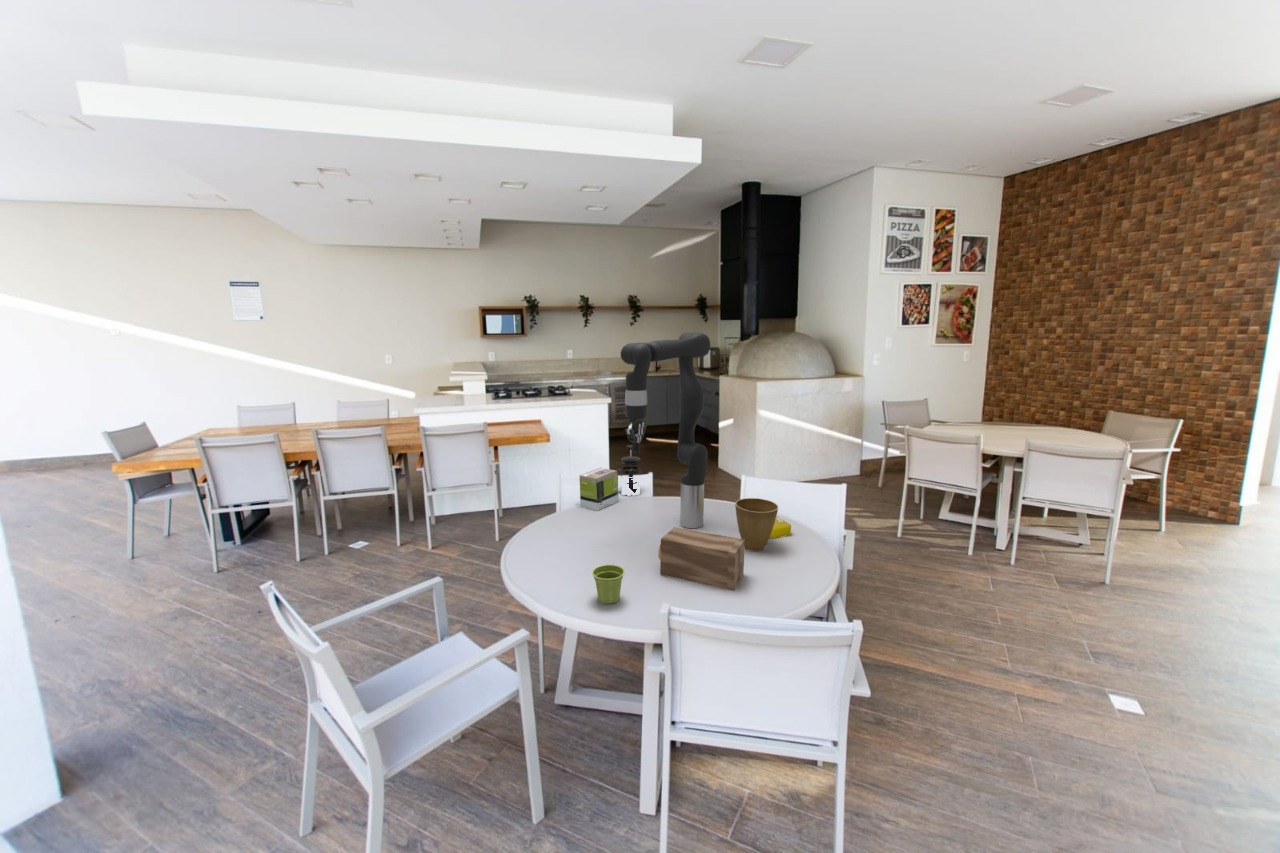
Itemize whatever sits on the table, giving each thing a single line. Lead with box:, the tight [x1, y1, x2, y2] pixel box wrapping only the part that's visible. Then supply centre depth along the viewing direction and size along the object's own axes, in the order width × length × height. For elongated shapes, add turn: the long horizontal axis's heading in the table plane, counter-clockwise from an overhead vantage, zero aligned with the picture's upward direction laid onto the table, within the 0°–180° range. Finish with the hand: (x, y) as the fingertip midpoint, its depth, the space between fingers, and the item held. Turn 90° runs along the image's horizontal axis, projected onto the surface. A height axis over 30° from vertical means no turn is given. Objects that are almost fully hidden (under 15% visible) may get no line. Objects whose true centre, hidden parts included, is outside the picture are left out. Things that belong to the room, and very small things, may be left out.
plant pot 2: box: [734, 497, 779, 552], centre depth 193 cm, size 15×15×16 cm
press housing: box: [659, 527, 745, 591], centre depth 171 cm, size 11×24×12 cm, turn 65°
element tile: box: [769, 515, 792, 539], centre depth 209 cm, size 15×15×5 cm
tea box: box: [579, 467, 619, 512], centre depth 238 cm, size 15×10×15 cm, turn 145°
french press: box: [616, 444, 641, 493], centre depth 252 cm, size 12×9×23 cm
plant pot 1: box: [591, 564, 625, 605], centre depth 157 cm, size 9×9×9 cm
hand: (636, 452), depth 187 cm, fingers closed
